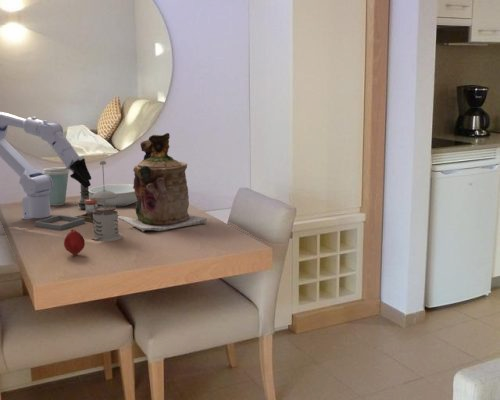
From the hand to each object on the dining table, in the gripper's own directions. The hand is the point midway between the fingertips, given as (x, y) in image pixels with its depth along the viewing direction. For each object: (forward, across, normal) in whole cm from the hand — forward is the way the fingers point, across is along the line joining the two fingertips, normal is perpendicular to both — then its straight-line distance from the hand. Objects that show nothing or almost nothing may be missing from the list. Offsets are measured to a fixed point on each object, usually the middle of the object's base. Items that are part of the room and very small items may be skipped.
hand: (88, 183), depth 213 cm
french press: (+21, -11, +8) cm, 25 cm away
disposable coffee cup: (-8, +40, +8) cm, 41 cm away
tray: (+7, +4, +16) cm, 18 cm away
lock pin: (+10, +8, +5) cm, 13 cm away
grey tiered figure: (+3, +25, +2) cm, 25 cm away
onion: (+22, -28, +21) cm, 41 cm away
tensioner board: (+10, +11, +4) cm, 15 cm away
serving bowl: (+6, +32, -10) cm, 34 cm away
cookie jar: (+26, +1, -13) cm, 29 cm away
